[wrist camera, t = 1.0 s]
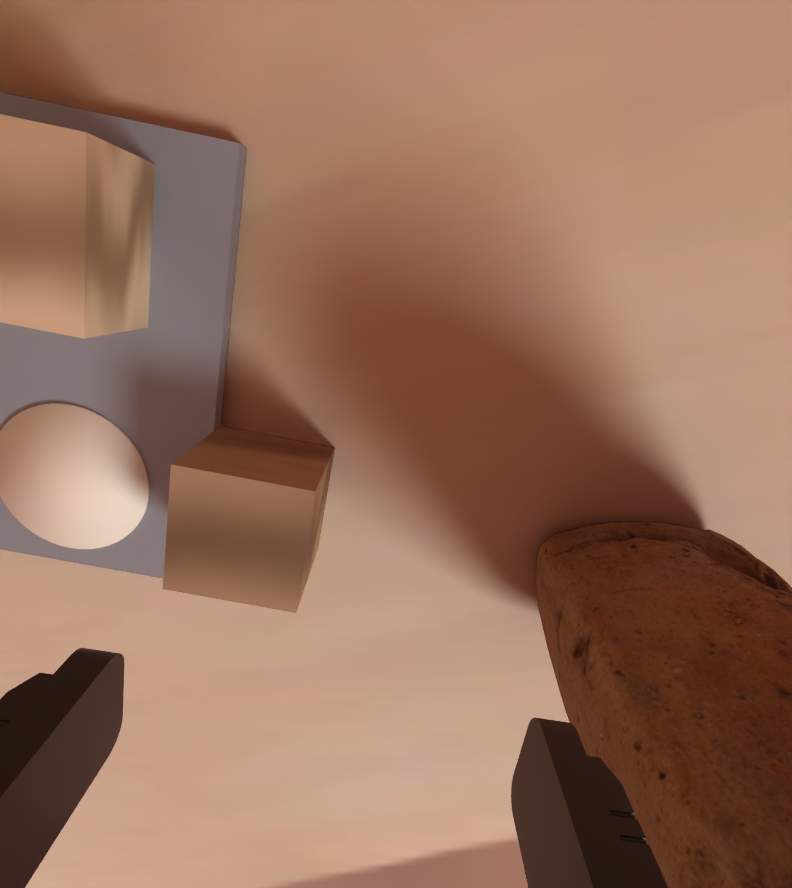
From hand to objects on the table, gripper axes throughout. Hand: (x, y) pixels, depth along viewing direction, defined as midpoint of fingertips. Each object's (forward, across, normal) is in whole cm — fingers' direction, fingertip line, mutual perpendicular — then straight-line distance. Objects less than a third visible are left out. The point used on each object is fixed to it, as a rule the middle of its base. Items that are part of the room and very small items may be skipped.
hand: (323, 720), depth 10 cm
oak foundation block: (+17, +15, -8) cm, 24 cm away
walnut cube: (+18, +5, +3) cm, 19 cm away
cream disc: (+18, +15, +4) cm, 24 cm away
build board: (+18, +15, -2) cm, 23 cm away
